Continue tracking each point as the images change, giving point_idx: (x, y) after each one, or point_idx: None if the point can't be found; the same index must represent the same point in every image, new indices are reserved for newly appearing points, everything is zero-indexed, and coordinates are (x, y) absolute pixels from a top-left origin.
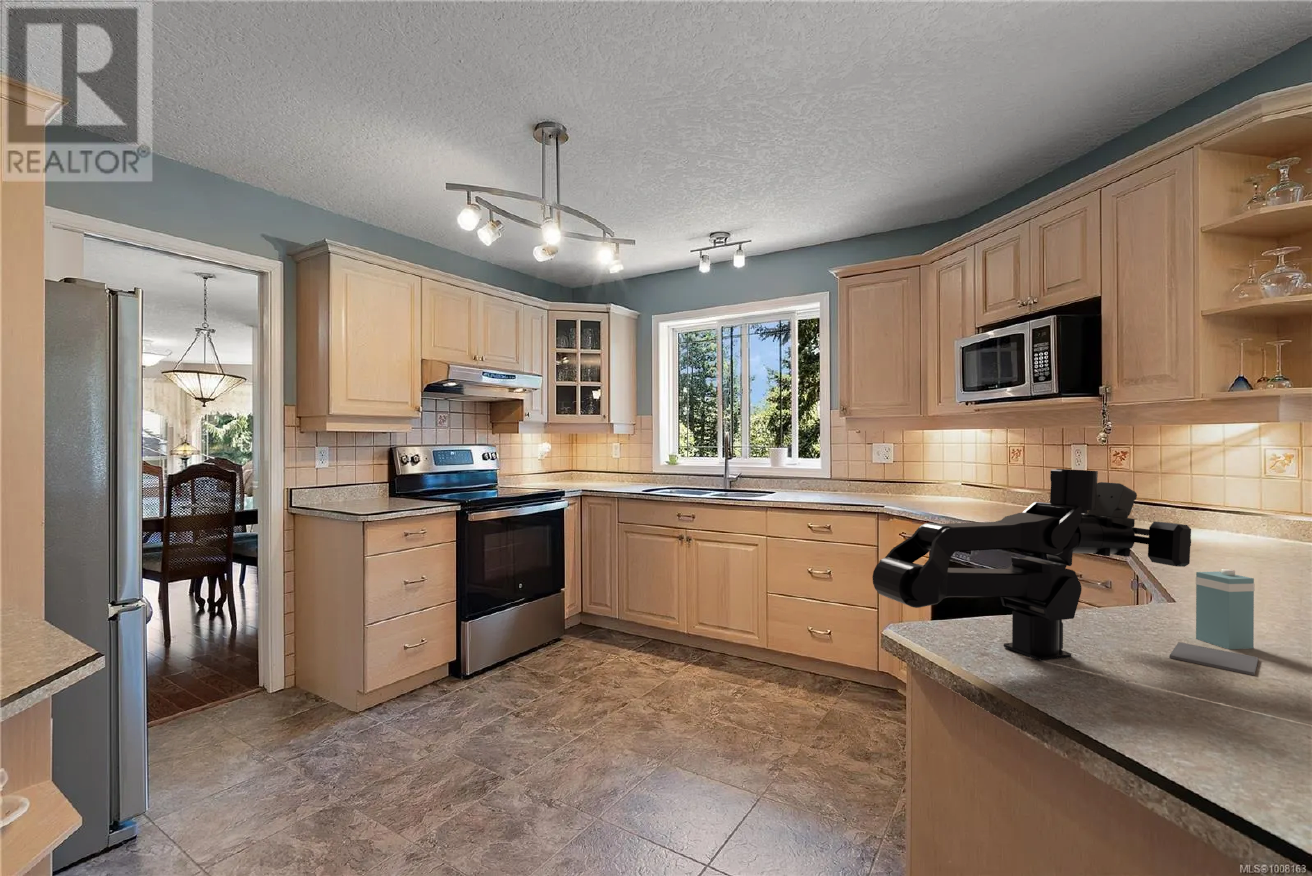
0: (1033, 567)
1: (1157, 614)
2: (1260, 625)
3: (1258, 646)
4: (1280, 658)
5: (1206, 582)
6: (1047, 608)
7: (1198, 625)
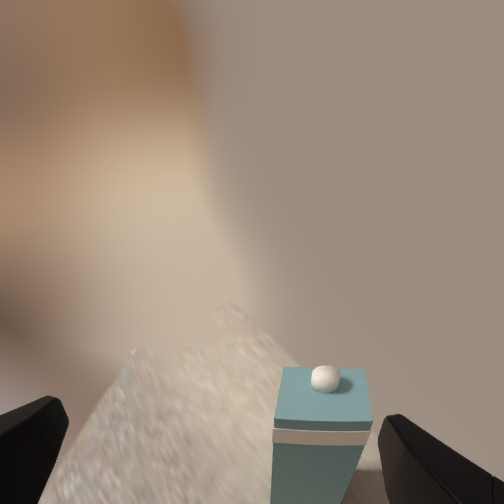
0: None
1: (143, 413)
2: (245, 359)
3: None
4: (381, 469)
5: (305, 437)
6: None
7: (276, 496)
